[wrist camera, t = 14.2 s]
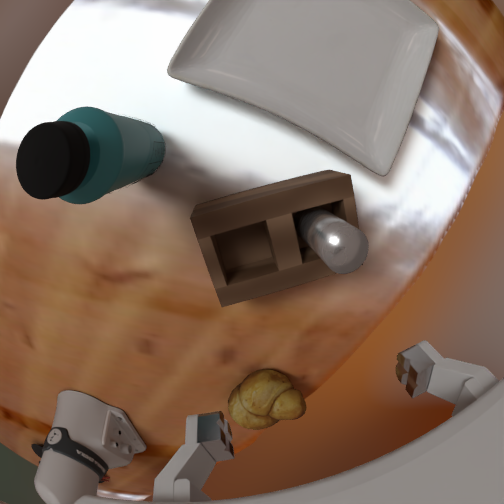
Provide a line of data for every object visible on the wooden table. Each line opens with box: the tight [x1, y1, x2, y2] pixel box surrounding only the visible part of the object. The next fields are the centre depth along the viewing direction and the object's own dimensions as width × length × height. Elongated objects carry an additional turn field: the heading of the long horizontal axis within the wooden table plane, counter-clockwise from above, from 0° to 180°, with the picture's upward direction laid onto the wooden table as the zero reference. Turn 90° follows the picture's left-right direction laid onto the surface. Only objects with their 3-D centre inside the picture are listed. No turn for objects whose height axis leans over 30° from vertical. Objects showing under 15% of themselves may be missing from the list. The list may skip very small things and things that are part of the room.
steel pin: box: [294, 206, 368, 274], centre depth 27 cm, size 4×4×10 cm
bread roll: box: [228, 369, 306, 430], centre depth 39 cm, size 13×10×8 cm
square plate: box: [167, 0, 439, 176], centre depth 24 cm, size 27×27×4 cm
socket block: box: [190, 170, 363, 307], centre depth 30 cm, size 10×16×6 cm, turn 105°
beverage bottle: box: [16, 107, 166, 204], centre depth 19 cm, size 6×7×20 cm
